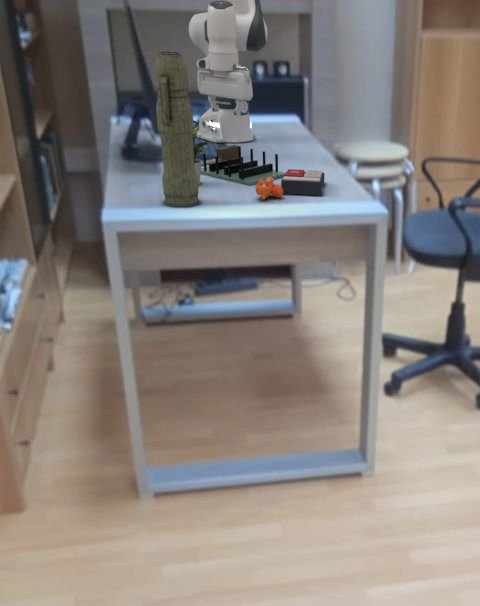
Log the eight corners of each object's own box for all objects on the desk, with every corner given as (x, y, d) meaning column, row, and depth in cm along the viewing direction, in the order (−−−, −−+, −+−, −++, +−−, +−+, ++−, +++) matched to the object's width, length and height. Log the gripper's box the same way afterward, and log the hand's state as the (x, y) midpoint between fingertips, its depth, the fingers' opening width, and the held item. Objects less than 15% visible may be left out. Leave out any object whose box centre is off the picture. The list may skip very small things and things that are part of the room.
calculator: (324, 169, 225) (321, 179, 212) (324, 185, 228) (320, 195, 214) (286, 167, 225) (280, 177, 212) (286, 183, 228) (281, 193, 214)
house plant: (171, 192, 211) (165, 128, 203) (154, 181, 221) (147, 119, 212) (220, 187, 218) (216, 125, 209) (201, 176, 228) (197, 116, 219)
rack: (195, 172, 232) (194, 151, 229) (233, 163, 243) (232, 144, 240) (250, 185, 222) (249, 164, 219) (286, 175, 233) (286, 155, 230)
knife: (234, 156, 252) (234, 144, 250) (239, 157, 251) (239, 145, 249) (196, 164, 241) (195, 152, 239) (201, 165, 239) (200, 153, 237)
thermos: (204, 197, 208) (194, 51, 190) (192, 209, 198) (181, 56, 180) (171, 195, 209) (158, 49, 190) (158, 207, 199) (143, 54, 180)
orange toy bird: (264, 169, 213) (255, 180, 203) (289, 180, 214) (282, 191, 204) (258, 187, 216) (249, 198, 206) (284, 197, 217) (276, 209, 207)
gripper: (256, 66, 231) (258, 116, 239) (207, 60, 241) (210, 108, 249) (241, 67, 227) (243, 118, 234) (192, 61, 237) (195, 110, 244)
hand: (226, 113), depth 241 cm, fingers open, 8 cm apart
